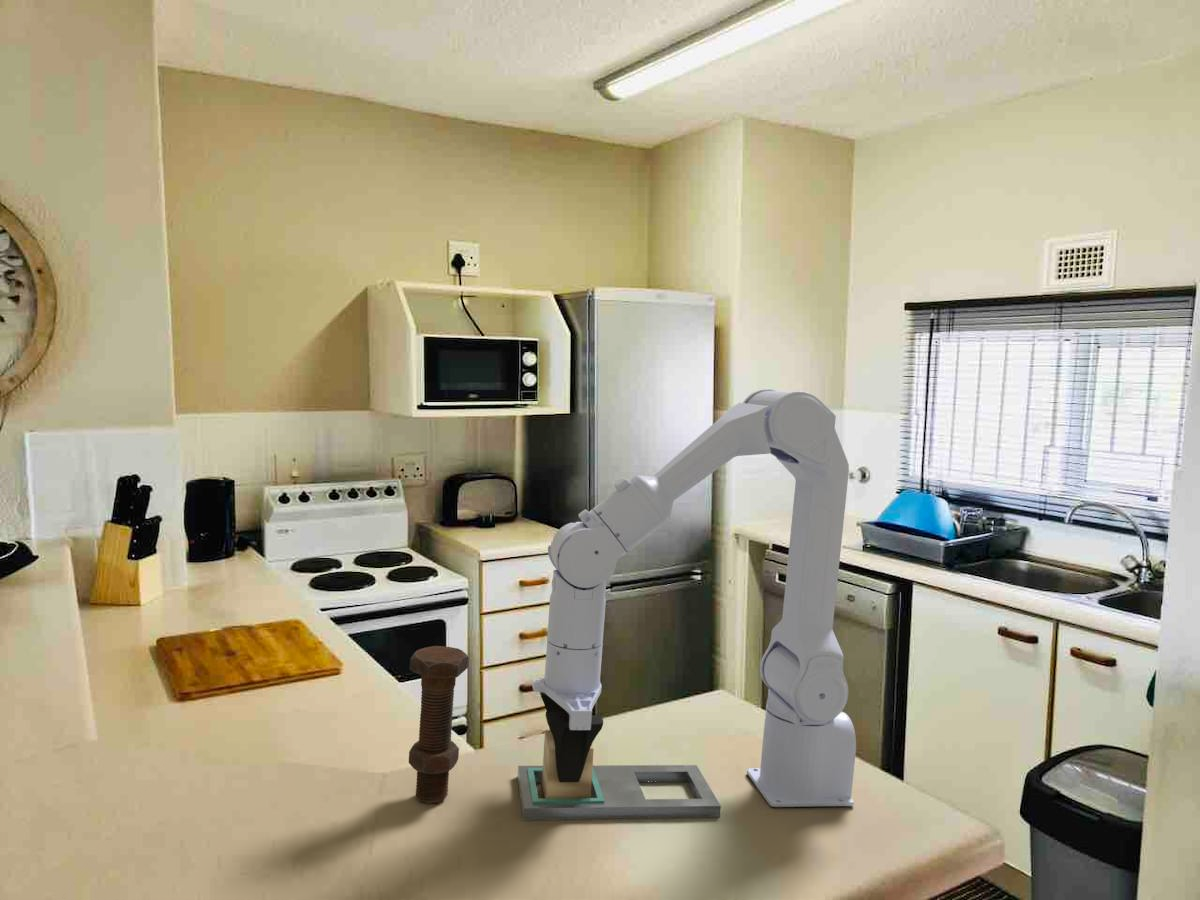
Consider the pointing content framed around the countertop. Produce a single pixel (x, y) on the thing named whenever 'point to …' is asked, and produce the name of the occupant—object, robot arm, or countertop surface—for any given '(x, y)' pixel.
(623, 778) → the grey peg insertion board
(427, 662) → the bolt
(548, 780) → the oak block
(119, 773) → the countertop surface
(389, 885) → the countertop surface
